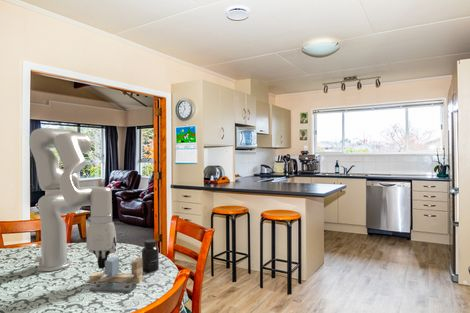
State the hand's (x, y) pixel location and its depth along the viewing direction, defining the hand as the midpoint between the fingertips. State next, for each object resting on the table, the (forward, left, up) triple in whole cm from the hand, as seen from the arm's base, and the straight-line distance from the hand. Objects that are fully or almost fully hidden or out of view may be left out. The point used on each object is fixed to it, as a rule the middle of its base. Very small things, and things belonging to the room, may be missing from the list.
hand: (102, 267), depth 121 cm
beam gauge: (+5, -2, -5) cm, 8 cm away
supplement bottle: (+14, +12, -5) cm, 19 cm away
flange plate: (+8, -7, -5) cm, 12 cm away
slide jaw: (+4, -2, -3) cm, 5 cm away
